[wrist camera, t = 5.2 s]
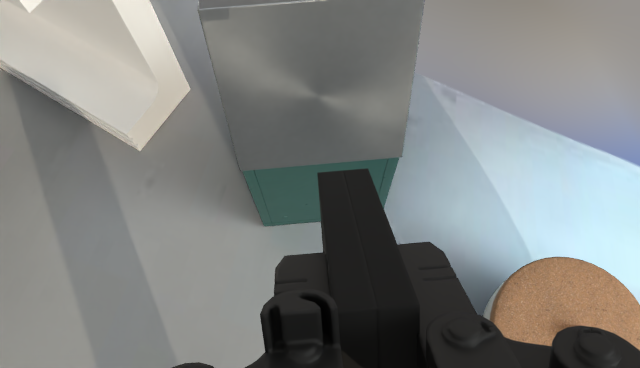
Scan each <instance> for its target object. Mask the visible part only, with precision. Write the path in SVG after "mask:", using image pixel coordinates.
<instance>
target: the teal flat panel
mask: <svg viewBox="0 0 640 368" xmlns="http://www.w3.org/2000/svg"><path fill="white" fill-rule="evenodd" d="M398 160H399V157H398V158H386V159H374V160H363V161H351V162H340V163H328V164H317V165H305V166H294V167H282V168H271V169H259V170H248V171H242V172H243V174H244V177H245V179H246V182H247V184H248V187H249V189H250V192H251V194H252V197H253V199H254V202H255V204H256V207H257V209H258V212H259V214H260V217H261V219H262V222H263V225H264V226H275V225H286V224H297V223H308V222H320V221H321V215H320V202H319V189H318V177H317V173H318V172H330V171H342V170H354V169H366V168H368V169H369V172H370V175H371V177H372V180H373V183H374V185H375V188H376V190H377V193H378V196H379V198H380V201H381V204H382V206H383V208H384V205H385V202H386V199H387V195H388V192H389V189H390V186H391V183H392V179H393V176H394V173H395V170H396V166H397V163H398Z"/></svg>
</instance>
